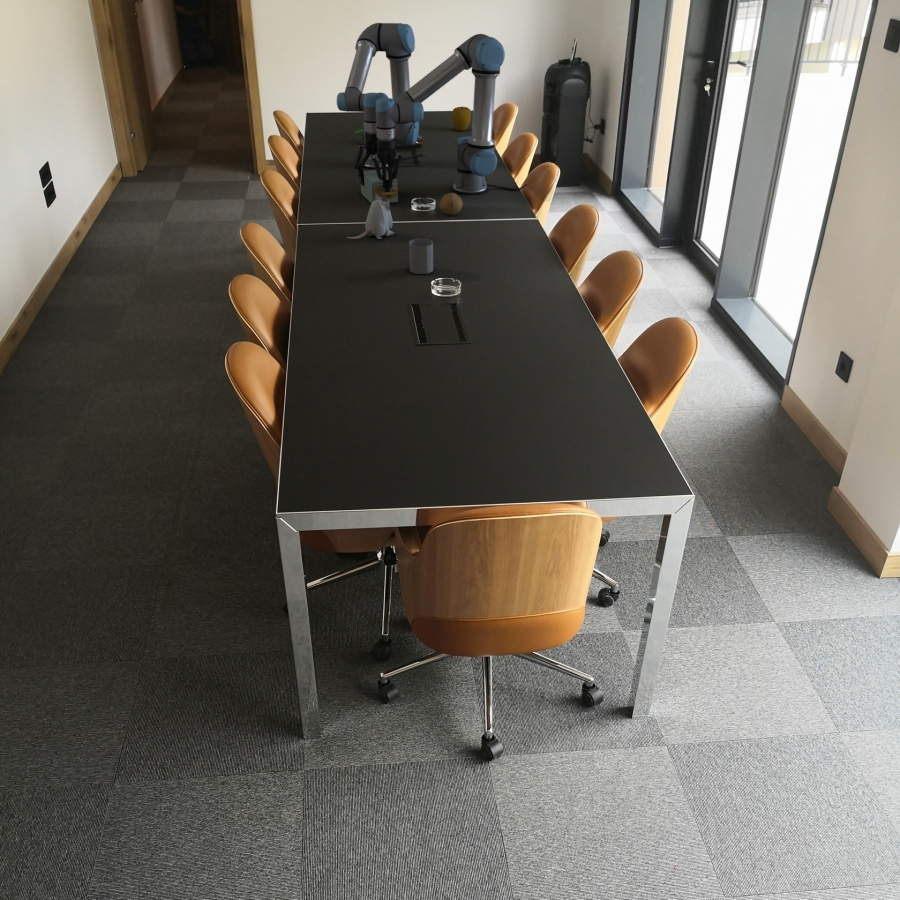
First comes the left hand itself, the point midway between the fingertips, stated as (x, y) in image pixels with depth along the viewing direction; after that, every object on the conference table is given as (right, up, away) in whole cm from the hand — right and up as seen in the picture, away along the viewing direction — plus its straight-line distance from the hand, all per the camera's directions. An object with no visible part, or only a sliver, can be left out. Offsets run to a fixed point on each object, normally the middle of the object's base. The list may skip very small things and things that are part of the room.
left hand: (375, 183), depth 383 cm
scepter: (-4, +48, +84) cm, 97 cm away
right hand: (+6, -9, -13) cm, 17 cm away
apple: (+39, +63, +108) cm, 131 cm away
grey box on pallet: (+2, -7, -1) cm, 7 cm away
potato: (+33, -19, -20) cm, 43 cm away
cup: (+23, -54, -75) cm, 95 cm away
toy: (+2, -36, -47) cm, 60 cm away
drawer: (+4, -8, -5) cm, 11 cm away
